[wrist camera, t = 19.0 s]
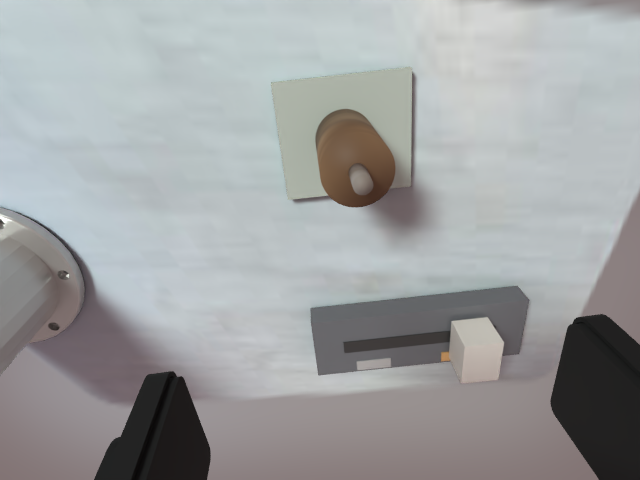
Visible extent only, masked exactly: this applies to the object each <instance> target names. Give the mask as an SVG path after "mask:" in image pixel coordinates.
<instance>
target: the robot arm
mask: <svg viewBox="0 0 640 480" xmlns="http://www.w3.org/2000/svg"><path fill="white" fill-rule="evenodd" d="M84 294H85V287H84V281H83V276H82V274H81V271H80V269H79V266H78V264H77V263H76V261H75V260H74V258H73V256H72V255H71V253H70V252H69V251H68V250H67V248H66V247H65V246H64V245H63V244H62V243H61V242H60V241H59V240H58V239H57V238H56V237H55V236H54V235H52V234H51V233H50V232H49V231H48V230H46V229H45V228H44V227H42V226H40V225H39V224H37V223H35V222H34V221H32V220H31V219H29V218H27V217H24V216H22V215H20V214H18V213H15V212H13V211H10V210H7V209H4V208H0V375H1V374H2V373H3V372H4V371H5V370H6V368H7V367H8V366H9V365H10V364H11V363H12V361H13V360H14V359H15V358H16V357H17V355H18V354H19V353H20V352H21V351H22V350H23V349H24V347H25V346H26V345H27V344H28V343H34V342H39V341H44V340H47V339H49V338H52V337H54V336H56V335H58V334H59V333H61V332H62V331H64V330H65V329H66V328H67V327H68V326H69V325H70V324H71V323H72V322H73V320H74V319H75V318H76V316H77V315H78V313H79V312H80V310H81V307H82V305H83V302H84ZM551 407H552V410H553V413H554V415H555V416H556V418H557V419H558V421H559V422H560V424H561V425H562V427H563V428H564V429H565V431H566V432H567V434H568V435H569V436H570V438H571V440H572V441H573V442H574V444H575V445H576V447H577V448H578V450H579V451H580V452H581V454H582V455H583V457H584V458H585V460H586V461H587V462H588V464H589V466H590V467H591V468H592V470H593V471H594V472H595V474H596V475H597V477H598V479H599V480H640V345H639V344H638V343H637V342H636V341H635V340H634V339H632V338H631V337H630V336H629V335H628V334H627V333H626V332H625V331H624V330H623V329H621V328H620V327H619V326H618V325H617V324H616V323H615V322H614V321H612V320H611V319H610V318H609V317H607V316H606V315H603V314H600V315H592V316H585V317H578V318H576V319H575V320H574V322H573V324H572V325H569V326H568V329H567V333H566V337H565V341H564V345H563V350H562V354H561V358H560V362H559V367H558V371H557V375H556V380H555V384H554V388H553V392H552V396H551ZM209 465H210V447H209V444H208V441H207V438H206V436H205V433H204V431H203V428H202V426H201V423H200V420H199V417H198V415H197V412H196V410H195V407H194V404H193V402H192V399H191V396H190V394H189V391H188V388H187V386H186V383H185V380H184V378H183V377H182V376H181V377H177V376H176V374H175V373H174V372H173V371H172V372H164V373H156V374H149V375H147V376H146V378H145V380H144V382H143V384H142V387H141V389H140V391H139V394H138V396H137V399H136V401H135V403H134V406H133V408H132V411H131V413H130V416H129V418H128V420H127V423H126V425H125V428H124V430H123V432H122V435H121V437H118V438H116V439H114V440H113V441H112V442H111V444H110V446H109V447H108V449H107V451H106V453H105V456H104V458H103V460H102V463H101V465H100V467H99V470H98V472H97V474H96V476H95V479H94V480H207V476H208V471H209Z"/></svg>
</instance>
